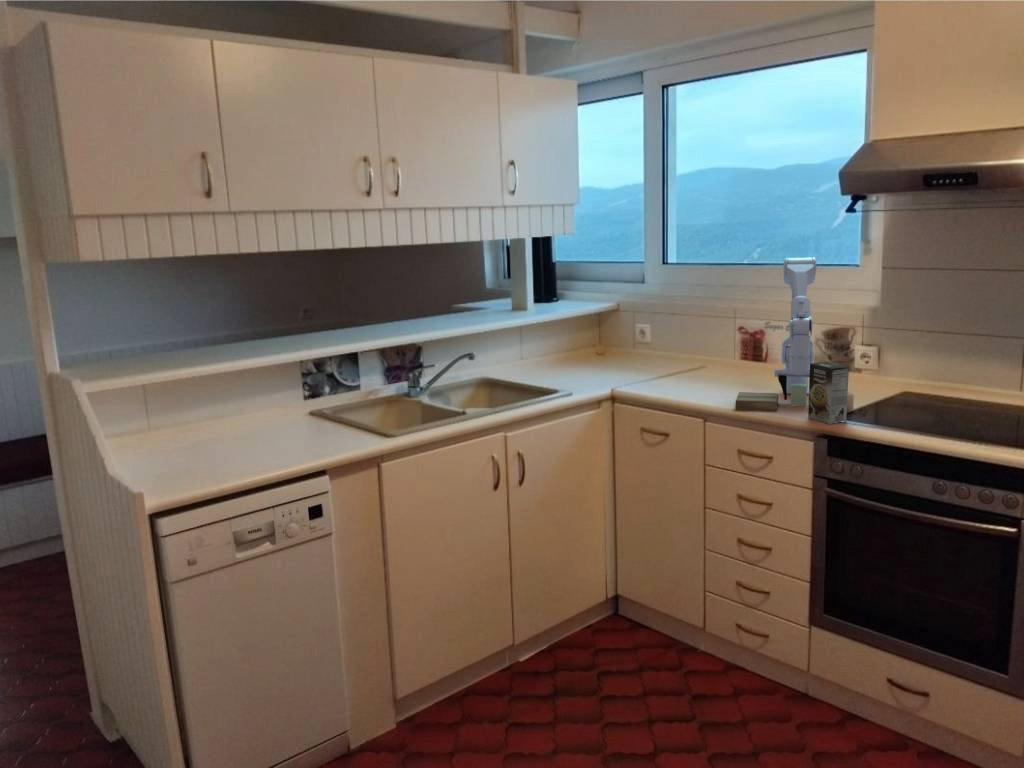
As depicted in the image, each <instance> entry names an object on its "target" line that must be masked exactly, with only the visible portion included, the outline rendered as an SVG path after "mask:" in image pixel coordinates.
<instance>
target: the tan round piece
mask: <svg viewBox="0 0 1024 768" xmlns="http://www.w3.org/2000/svg"><path fill="white" fill-rule="evenodd" d="M854 401H855V394H854V393H853V392H848V395H847V413H851V412H850V411H853V412H854V405H855V404H854V403H855V402H854Z"/></svg>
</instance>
